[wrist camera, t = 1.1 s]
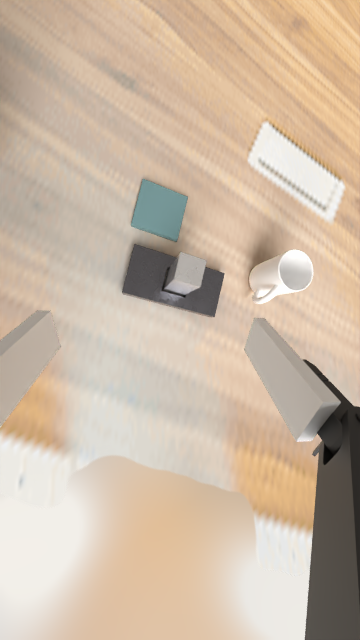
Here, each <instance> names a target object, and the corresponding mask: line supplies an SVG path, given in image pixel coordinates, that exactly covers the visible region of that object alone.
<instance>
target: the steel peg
mask: <svg viewBox="0 0 360 640" xmlns="http://www.w3.org/2000/svg"><path fill="white" fill-rule="evenodd" d="M206 261H207V260H204V259H201V258H198V257H195V256H192V255H189V254H186V253H183V252H180V253H179V255H178V256H177V258H176V259H175V261H174V262H173V264H172V265H171V267H170V268H169V270H168V271H167V274H166V278H165V282H164V286H163V290H162V291H164V292H167V293H171V294H174V295H178V296H183V295H186V294H188V293H190V292H192V291H194V290H196V289H198V288H200V287H201V283H202V278H203V274H204V270H205V266H206Z"/></svg>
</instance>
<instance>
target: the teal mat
mask: <svg viewBox="0 0 360 640" xmlns="http://www.w3.org/2000/svg"><path fill="white" fill-rule="evenodd" d="M187 199H188V197H187V196H184V195H182V194H179V193H177V192H174V191H172V190H170V189H167V188H165V187H162V186H160V185H157V184H155V183H152V182H150V181H147V180H145V179H143V181H142V185H141V188H140V192H139V196H138V200H137V204H136V208H135V211H134V215H133V219H132V223H131V226H132V227H134V228H137V229H140V230H143V231H146V232H149V233H152V234H155V235H158V236H160V237H163V238H166V239H169V240H172V241H175V242H177V240H178V236H179V231H180V227H181V223H182V219H183V215H184V211H185V207H186V203H187Z"/></svg>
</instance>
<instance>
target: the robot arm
mask: <svg viewBox="0 0 360 640" xmlns="http://www.w3.org/2000/svg"><path fill="white" fill-rule="evenodd" d="M60 347H61V345H60V341H59V338H58V334H57V331H56V327H55V324H54V320H53V317H52V313H51V311H40V310H37V311H36V312H35V313H34V314H32V315H31V316H30V317H29V318H27V319H26V320H25V321H24V322H22V323H21V324H20V325H19V326H17V327H16V328H15V329H14V330H13V331H11V332H10V333H9V334H8V335H6V336H5V337H4V338H3V339H1V340H0V427H1V426H2V425H3V423H4V422H5V421H6V419H7V418H8V417H9V415H10V414H11V413H12V411H13V410H14V409H15V407H16V406H17V405H18V403H19V402H20V401H21V399H22V398H23V397H24V395H25V394H26V393H27V391H28V390H29V389H30V387H31V386H32V385H33V383H34V382H35V381H36V379H37V378H38V377H39V375H40V374H41V373H42V371H43V370H44V369H45V367H46V366H47V365H48V363H49V362H50V361H51V359H52V358H53V356H54V355H55V354H56V352H57V351H58V350H59V348H60ZM244 350H245V352H246V354H247V356H248V357H249V359H250V361H251V363H252V364H253V366H254V368H255V370H256V371H257V373H258V375H259V377H260V379H261V380H262V382H263V384H264V386H265V387H266V389H267V391H268V393H269V394H270V396H271V398H272V400H273V402H274V403H275V405H276V407H277V409H278V410H279V412H280V414H281V416H282V417H283V419H284V421H285V423H286V425H287V426H288V428H289V430H290V432H291V433H292V435H293V437H294V439H295V440H296V442H297V441H312V440H313V438H314V437H315V436H316V434H317V433H318V435H319V436H320V438H321V439H322V442H321V443H320V444H319V445H318V446H317V448H316V449H315V450H314V452H313V454H312V455H314V456H316V455H317V453H318V452H319V459H318V472H317V485H316V499H315V512H314V525H313V538H312V552H311V565H310V580H309V592H308V606H307V619H306V632H305V640H360V407H355V406H353V405H352V404H351V403H350V402H349V401H348V400H347V399H346V398H345V397H344V396H343V394H342V393H341V392H340V391H339V390H338V389H337V388H336V387H335V386H334V385H333V384H332V383H331V382H329V381H328V379H327V378H326V377H325V376H324V375H323V374H322V373H321V371H320V370H319V369H318V368H317V367H316V366H314V365H313V364H312V363H310V362H309V361H307V360H302V359H301V358H300V357H299V356H298V354H297V353H296V352H295V351H294V350H293V349H292V348H291V347H290V346H289V345H288V343H287V342H286V341H285V340H284V339H283V338H282V337H281V336H280V335H279V334H278V333H277V331H276V330H275V329H274V328H273V327H272V326H271V325H270V324H269V323H268V322H267V320H266V319H265V318H254V319H253V323H252V326H251V329H250V332H249V336H248V339H247V342H246V345H245V348H244Z"/></svg>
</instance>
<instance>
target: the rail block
mask: <svg viewBox="0 0 360 640" xmlns="http://www.w3.org/2000/svg"><path fill="white" fill-rule="evenodd" d="M175 259H176V257H173V256H170V255H167V254H164V253H161V252H158V251H155V250H152V249H148V248H145V247H142V246H139V245H136V244H134V248H133V252H132V256H131V260H130V264H129V268H128V272H127V275H126V279H125V283H124V287H123V291H122V293H123V294H125V295H128V296H132V297H136V298H140V299H143V300H147V301H151V302H155V303H158V304H162V305H166V306H170V307H174V308H177V309H181V310H185V311H189V312H192V313H196V314H200V315H204V316H207V317H215V313H216V308H217V304H218V299H219V295H220V291H221V286H222V282H223V278H224V273H222V272H219V271H216V270H213V269H210V268H207V267H205V270H204V274H203V278H202V283H201V287H200V288H198V289H196V290H194V291H192V292H190V293H188V294H186V295H183V297H181V296H178V295H174V294H171V293H167V292H164V291H162V287H163V283H164V279H165V275H166V271H167V270H169V268H170V267H171V265H172V264H173V262H174V261H175Z"/></svg>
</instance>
